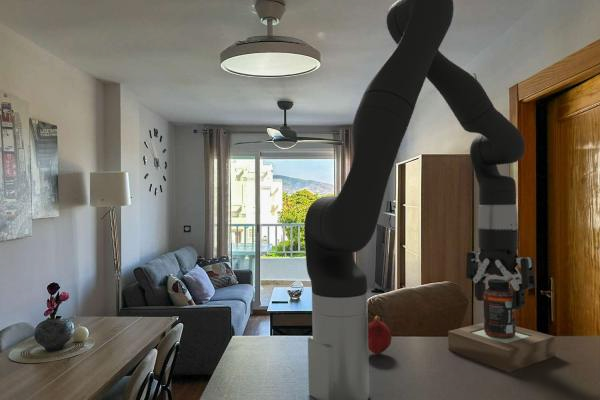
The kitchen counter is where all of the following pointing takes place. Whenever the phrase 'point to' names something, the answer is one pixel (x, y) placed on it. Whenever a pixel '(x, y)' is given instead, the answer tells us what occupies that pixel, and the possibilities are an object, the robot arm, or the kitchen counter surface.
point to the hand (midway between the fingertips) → (498, 304)
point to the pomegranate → (378, 336)
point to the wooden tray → (502, 347)
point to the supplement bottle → (499, 309)
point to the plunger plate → (504, 340)
